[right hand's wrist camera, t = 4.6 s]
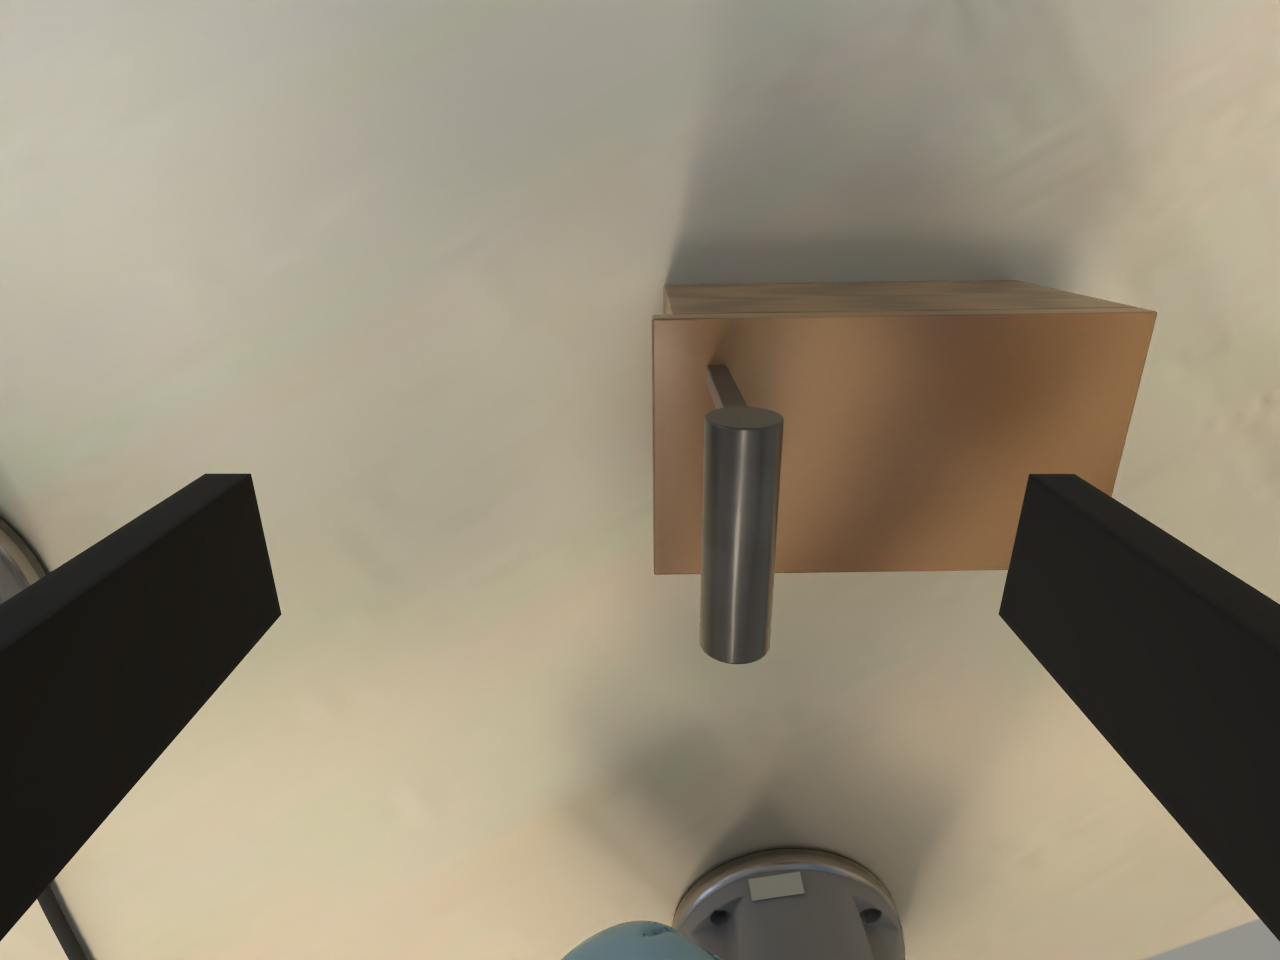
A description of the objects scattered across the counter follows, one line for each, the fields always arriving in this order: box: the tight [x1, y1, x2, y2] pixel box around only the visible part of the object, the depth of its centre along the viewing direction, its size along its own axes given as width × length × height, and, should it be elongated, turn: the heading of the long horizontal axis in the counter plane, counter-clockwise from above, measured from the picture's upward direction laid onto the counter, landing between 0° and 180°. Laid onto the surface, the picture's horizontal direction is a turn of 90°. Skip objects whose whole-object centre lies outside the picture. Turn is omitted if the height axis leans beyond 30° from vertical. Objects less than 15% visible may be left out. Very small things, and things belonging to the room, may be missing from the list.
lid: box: [652, 308, 1157, 664], centre depth 23 cm, size 17×10×9 cm, turn 91°
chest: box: [663, 280, 1136, 314], centre depth 31 cm, size 16×10×9 cm, turn 91°
